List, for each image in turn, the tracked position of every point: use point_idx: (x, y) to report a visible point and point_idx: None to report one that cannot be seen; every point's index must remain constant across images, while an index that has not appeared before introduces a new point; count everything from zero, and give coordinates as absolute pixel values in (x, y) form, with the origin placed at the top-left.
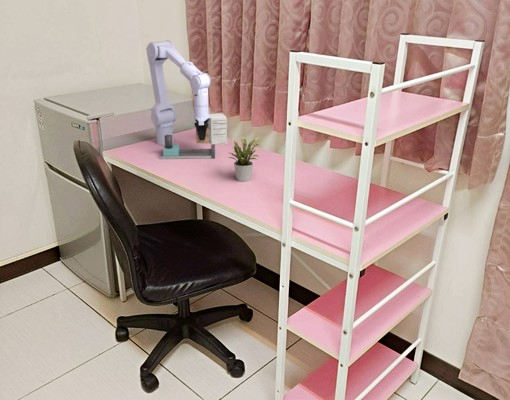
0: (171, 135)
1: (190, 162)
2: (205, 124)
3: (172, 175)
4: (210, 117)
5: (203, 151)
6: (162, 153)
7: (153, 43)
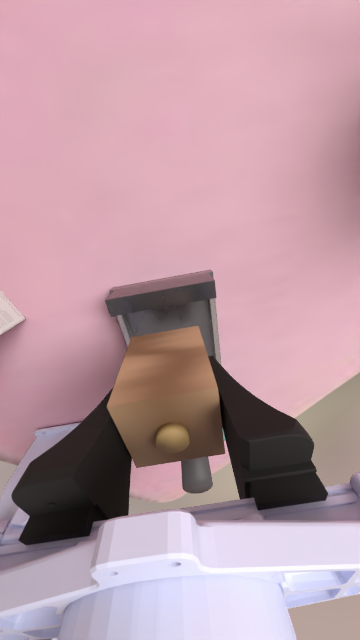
0: (190, 479)
1: (229, 348)
2: (295, 456)
3: (336, 367)
4: (195, 528)
5: (132, 332)
6: None
7: None
